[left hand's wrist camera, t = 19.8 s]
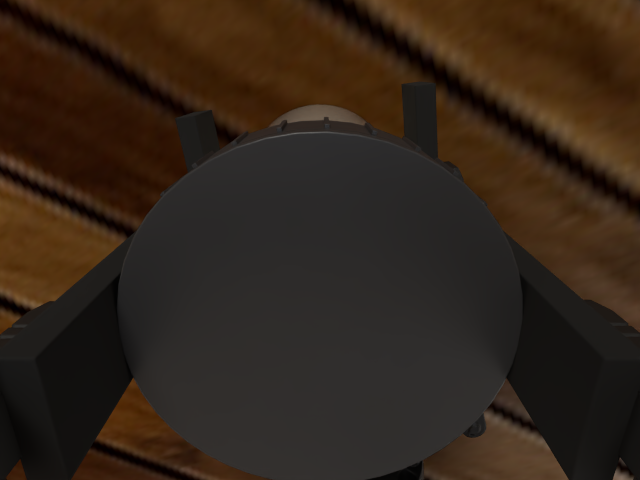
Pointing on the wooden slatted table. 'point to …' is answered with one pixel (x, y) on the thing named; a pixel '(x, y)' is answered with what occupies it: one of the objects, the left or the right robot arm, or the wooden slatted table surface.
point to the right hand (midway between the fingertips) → (304, 99)
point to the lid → (319, 303)
